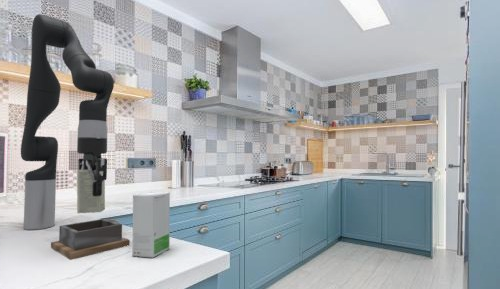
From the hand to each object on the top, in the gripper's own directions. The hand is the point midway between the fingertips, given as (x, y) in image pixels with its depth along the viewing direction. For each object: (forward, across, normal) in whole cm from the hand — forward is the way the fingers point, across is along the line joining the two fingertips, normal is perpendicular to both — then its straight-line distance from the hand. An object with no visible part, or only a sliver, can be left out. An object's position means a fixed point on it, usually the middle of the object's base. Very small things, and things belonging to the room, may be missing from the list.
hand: (91, 194), depth 82 cm
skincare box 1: (+5, 0, 0) cm, 5 cm away
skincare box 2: (+15, +18, +8) cm, 25 cm away
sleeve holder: (+15, 0, 0) cm, 15 cm away
